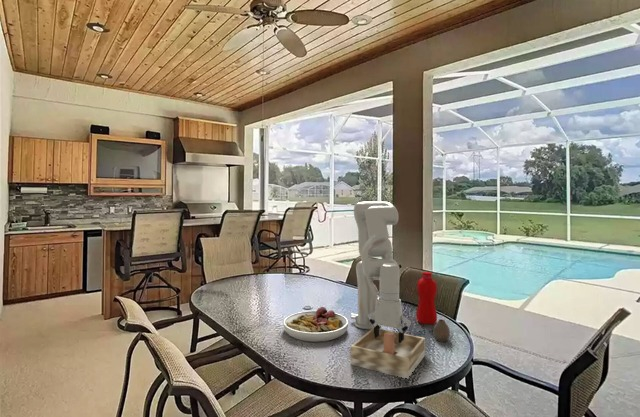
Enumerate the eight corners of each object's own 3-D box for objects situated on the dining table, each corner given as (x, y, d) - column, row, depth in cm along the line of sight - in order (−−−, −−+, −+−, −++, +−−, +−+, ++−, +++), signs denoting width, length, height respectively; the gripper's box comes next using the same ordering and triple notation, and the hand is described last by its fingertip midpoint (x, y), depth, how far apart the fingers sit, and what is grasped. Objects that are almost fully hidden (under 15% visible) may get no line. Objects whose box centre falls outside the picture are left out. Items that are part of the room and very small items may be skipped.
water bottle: (433, 317, 192) (434, 269, 191) (437, 325, 182) (438, 274, 180) (415, 317, 193) (415, 269, 192) (418, 324, 182) (419, 273, 181)
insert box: (350, 364, 141) (350, 346, 141) (373, 343, 160) (373, 327, 160) (407, 379, 130) (408, 359, 130) (425, 355, 149) (425, 337, 149)
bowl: (342, 347, 157) (342, 329, 157) (274, 341, 164) (274, 323, 163) (352, 322, 186) (352, 307, 186) (294, 318, 193) (293, 303, 192)
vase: (446, 336, 168) (446, 317, 167) (452, 343, 161) (452, 322, 160) (430, 336, 168) (431, 317, 167) (436, 343, 161) (436, 323, 160)
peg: (382, 360, 144) (382, 334, 144) (385, 356, 148) (386, 331, 147) (392, 362, 142) (392, 337, 142) (395, 358, 146) (395, 333, 145)
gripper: (364, 294, 145) (364, 337, 146) (408, 302, 136) (407, 347, 138) (372, 289, 152) (371, 331, 153) (414, 296, 143) (413, 340, 144)
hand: (388, 338), depth 145 cm, fingers open, 9 cm apart
